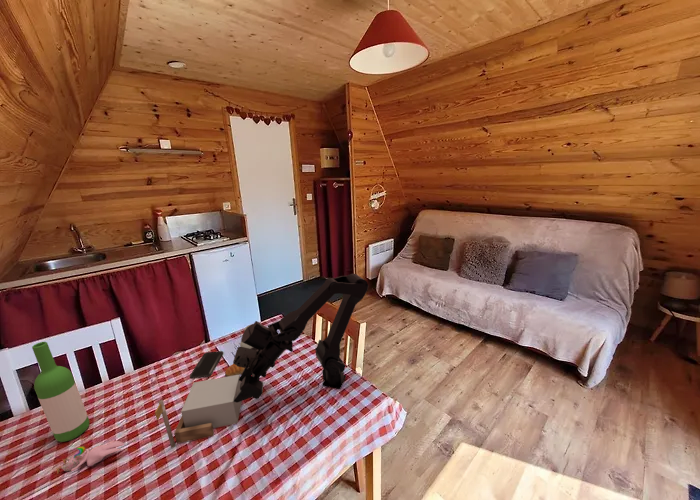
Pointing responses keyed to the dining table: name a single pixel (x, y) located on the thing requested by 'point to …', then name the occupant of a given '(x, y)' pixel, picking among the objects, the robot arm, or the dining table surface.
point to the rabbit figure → (89, 456)
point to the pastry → (234, 370)
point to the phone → (206, 365)
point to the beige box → (212, 402)
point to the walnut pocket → (183, 428)
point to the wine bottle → (59, 396)
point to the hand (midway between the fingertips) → (237, 390)
